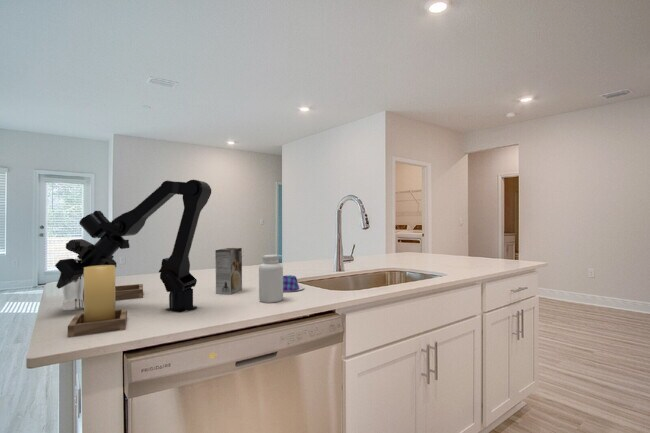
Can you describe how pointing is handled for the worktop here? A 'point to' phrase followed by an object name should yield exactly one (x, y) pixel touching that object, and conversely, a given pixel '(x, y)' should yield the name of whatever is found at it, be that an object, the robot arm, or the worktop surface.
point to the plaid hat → (291, 284)
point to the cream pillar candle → (99, 293)
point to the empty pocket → (128, 292)
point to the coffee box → (228, 270)
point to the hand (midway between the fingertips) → (70, 284)
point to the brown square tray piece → (97, 324)
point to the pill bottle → (270, 279)
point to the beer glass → (74, 293)
